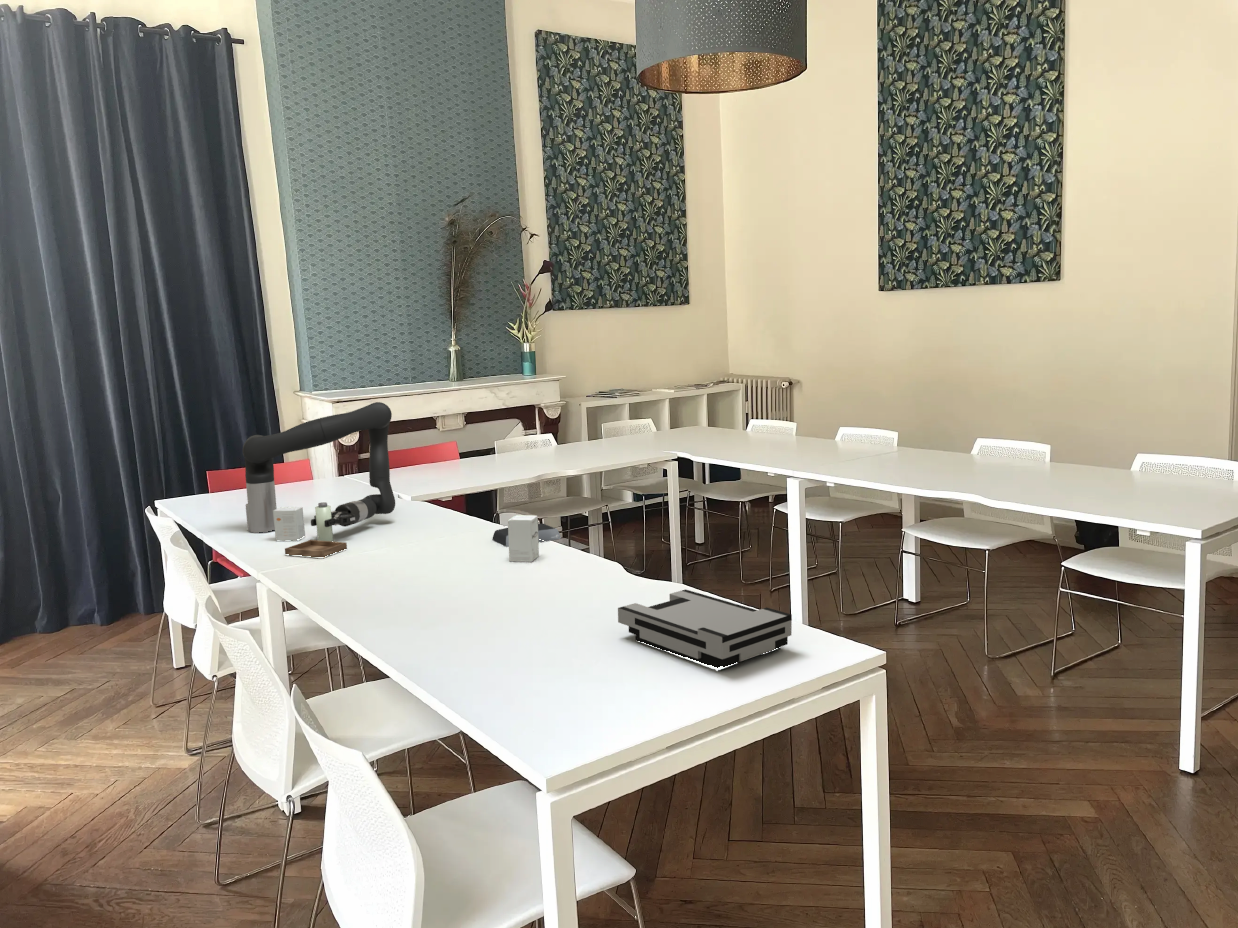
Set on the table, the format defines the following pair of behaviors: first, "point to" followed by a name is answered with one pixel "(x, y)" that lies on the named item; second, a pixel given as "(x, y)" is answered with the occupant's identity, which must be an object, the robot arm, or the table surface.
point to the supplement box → (523, 538)
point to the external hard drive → (543, 533)
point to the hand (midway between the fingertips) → (318, 523)
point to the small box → (289, 523)
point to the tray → (316, 548)
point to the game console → (707, 628)
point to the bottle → (321, 515)
